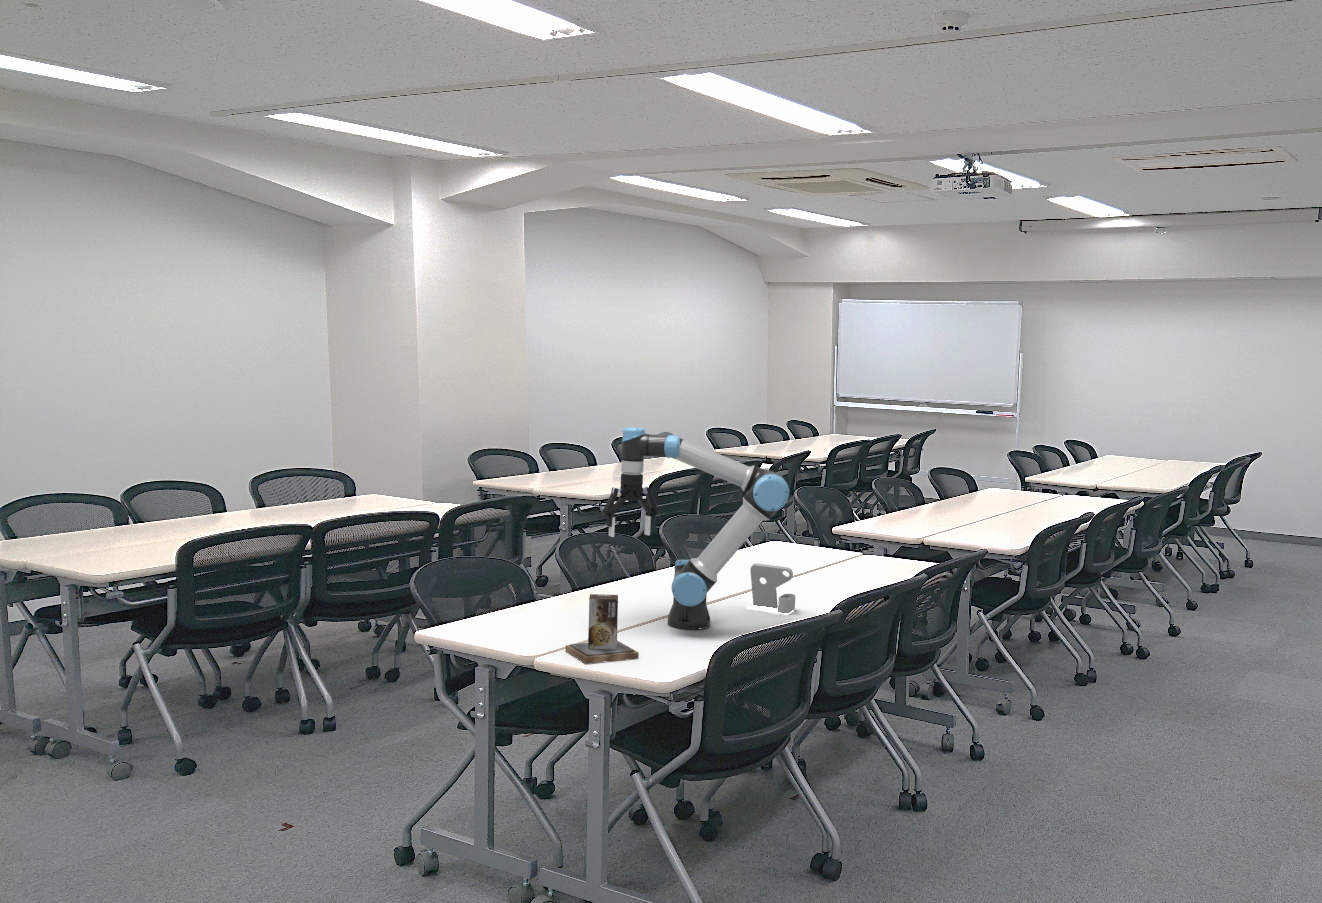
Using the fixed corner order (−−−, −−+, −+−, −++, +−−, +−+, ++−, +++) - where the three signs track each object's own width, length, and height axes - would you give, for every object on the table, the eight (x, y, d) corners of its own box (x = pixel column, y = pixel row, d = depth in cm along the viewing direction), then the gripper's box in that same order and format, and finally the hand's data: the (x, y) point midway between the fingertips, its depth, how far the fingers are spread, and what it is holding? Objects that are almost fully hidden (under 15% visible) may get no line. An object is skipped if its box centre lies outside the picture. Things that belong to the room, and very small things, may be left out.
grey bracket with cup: (797, 611, 410) (799, 564, 408) (788, 616, 401) (791, 568, 399) (754, 605, 417) (756, 558, 416) (744, 609, 408) (747, 562, 406)
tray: (616, 646, 348) (617, 638, 348) (638, 658, 335) (638, 650, 334) (565, 651, 339) (565, 643, 339) (585, 664, 326) (585, 656, 326)
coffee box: (616, 644, 340) (618, 594, 339) (616, 650, 334) (618, 598, 332) (587, 644, 340) (589, 593, 338) (587, 649, 333) (589, 597, 332)
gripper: (659, 471, 374) (656, 532, 375) (593, 472, 362) (591, 535, 363) (669, 474, 367) (666, 535, 369) (603, 474, 355) (601, 538, 357)
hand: (629, 535), depth 366 cm, fingers open, 13 cm apart
